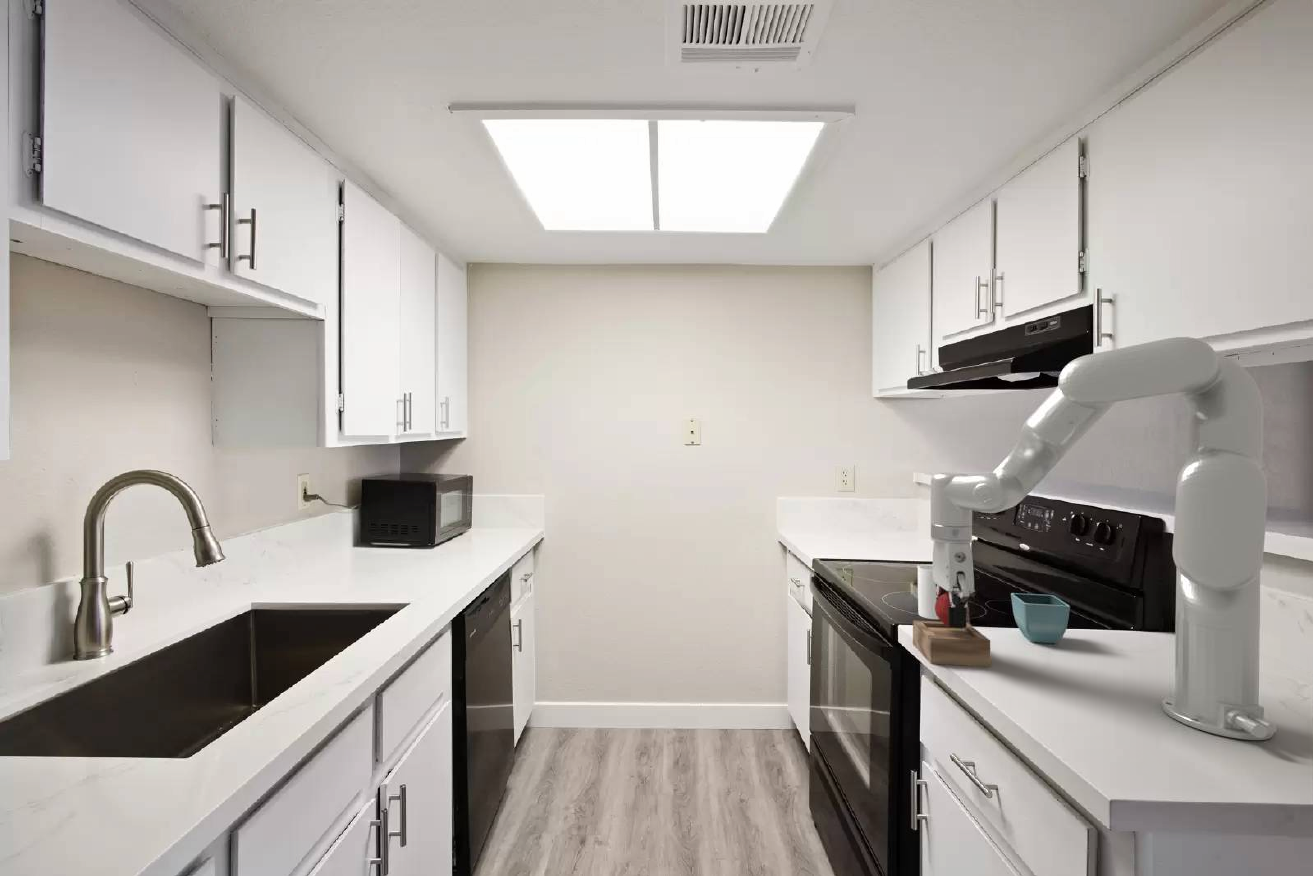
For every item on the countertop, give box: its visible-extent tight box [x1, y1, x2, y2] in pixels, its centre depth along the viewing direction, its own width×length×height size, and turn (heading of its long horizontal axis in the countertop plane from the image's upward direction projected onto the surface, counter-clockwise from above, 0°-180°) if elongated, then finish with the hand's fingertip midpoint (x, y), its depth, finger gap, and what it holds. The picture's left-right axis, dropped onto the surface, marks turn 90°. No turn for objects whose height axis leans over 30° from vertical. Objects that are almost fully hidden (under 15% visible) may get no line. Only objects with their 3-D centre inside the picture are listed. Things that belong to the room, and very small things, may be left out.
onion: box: [935, 591, 968, 628], centre depth 119 cm, size 6×6×8 cm
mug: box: [917, 564, 959, 621], centre depth 144 cm, size 10×7×12 cm, turn 62°
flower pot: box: [1010, 592, 1071, 644], centre depth 128 cm, size 9×9×9 cm
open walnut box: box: [912, 620, 991, 667], centre depth 119 cm, size 11×11×5 cm
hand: (950, 621), depth 119 cm, fingers closed on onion, 5 cm apart
